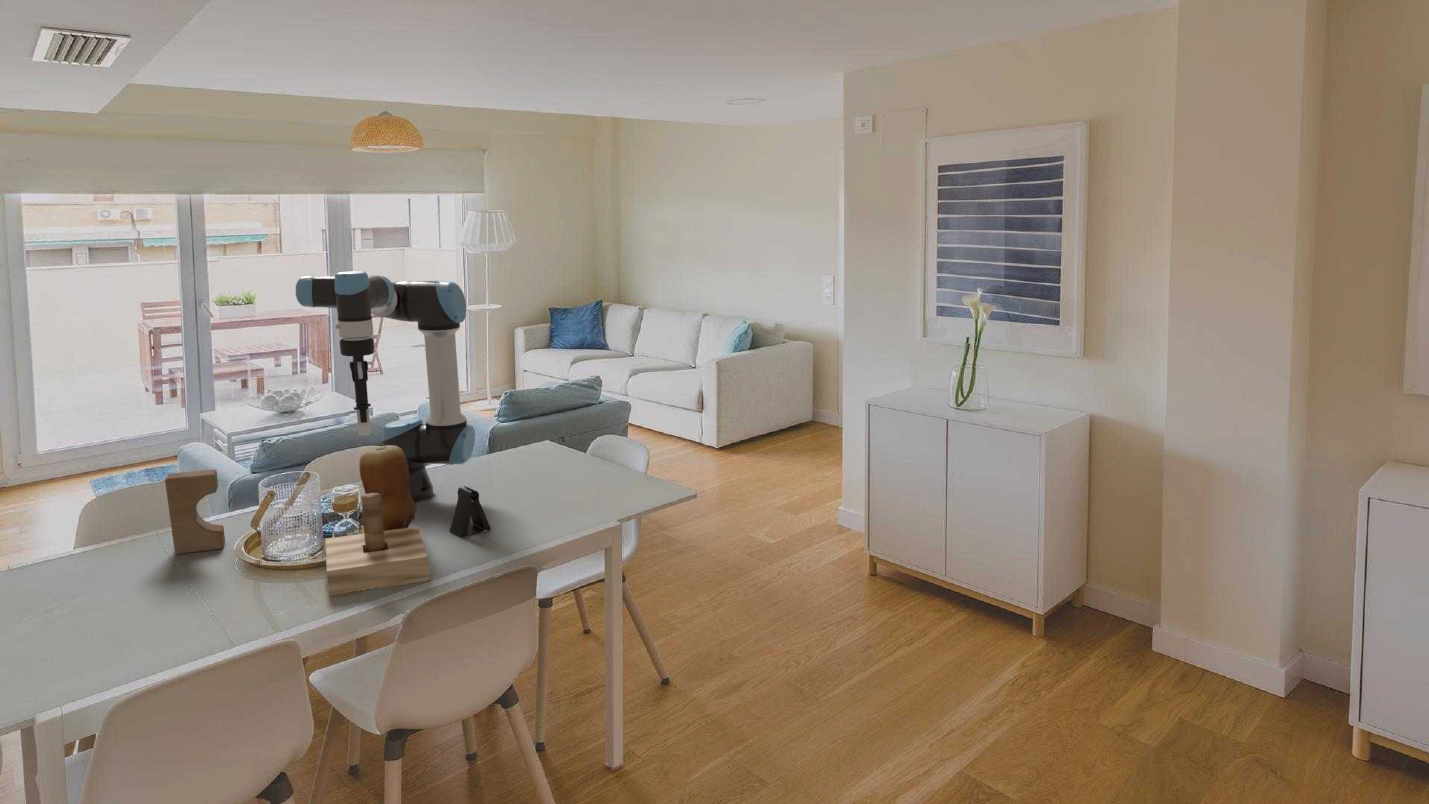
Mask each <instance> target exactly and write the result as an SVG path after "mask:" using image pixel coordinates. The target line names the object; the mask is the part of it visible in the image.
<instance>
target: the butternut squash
mask: <svg viewBox="0 0 1429 804" xmlns="http://www.w3.org/2000/svg"><path fill="white" fill-rule="evenodd" d="M358 469H359V474H360V475H359V476H360V480H361V483H362V486H363V489H364V494H369V493H379V494H381V503H382V515H383V527H384V531H387V530H395V529H402V528H409V527H410V526H411V523H412V521H413V520H415V518H416V512H417V511H416V510H417V509H416V505H415V502H414V501H413V499H412V498H411V495H410V488H409V483H410V476H409V470H408V463H407V460H406V456H405V454H404V452H403V450H402V449H401V448H400V447H398V446H394V445H387V446H383V445H382V446H378V447H374V448H371V449H369V450H367V451H365V452H363V453H362V454H361V455H360V458H359V467H358Z"/></svg>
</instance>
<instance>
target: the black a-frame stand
mask: <svg viewBox="0 0 1429 804" xmlns="http://www.w3.org/2000/svg"><path fill="white" fill-rule="evenodd" d="M470 521H472V524H471V525H470ZM491 528H492V527H491V525H490V523H489V520H488V518H487V516H486V514H485V511H484V509H483V506H482V504H481V502H480V493H479V491H477V490H474V489H473V488H470V487H468V486H466V485H463V486H460V487H458V489H457V501H456V504H455V509H454V514H453V517H452V521H451V525H450V530H449V532H450V533H452V534H454V535H456V536H458V537H460V538H462V539H463V537H464V538H467V537H470V536H474V535H476V534H481V533H483V532H482V531H484V532H486V531H485V530H488V531H491ZM480 532H481V533H480ZM473 534H474V535H473ZM466 536H467V537H466Z"/></svg>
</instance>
